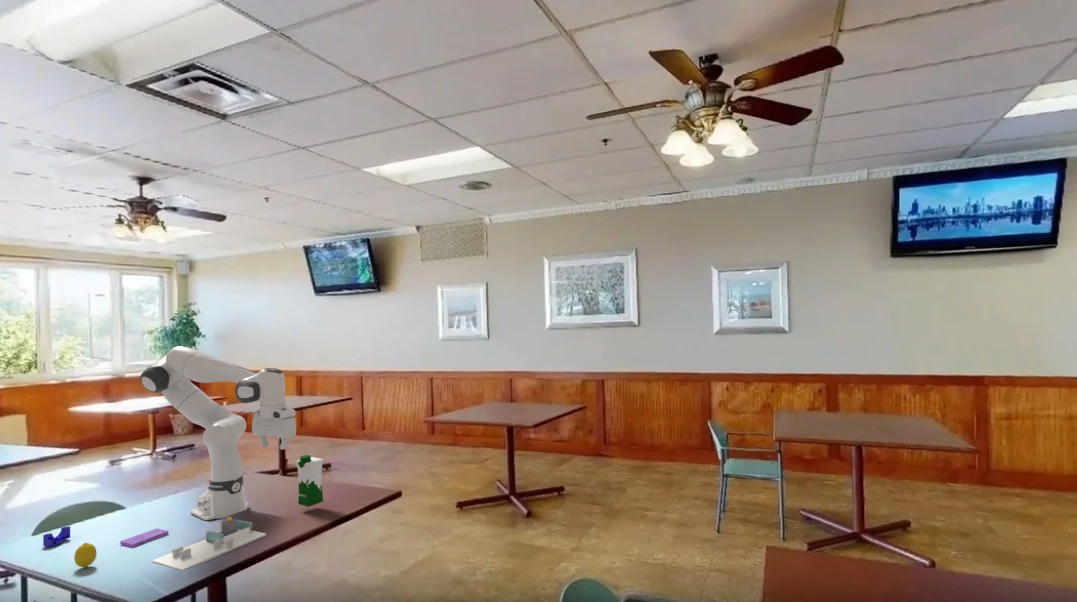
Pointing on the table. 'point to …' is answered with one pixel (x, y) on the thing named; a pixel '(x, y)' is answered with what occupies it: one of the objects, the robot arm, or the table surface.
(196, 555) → the board
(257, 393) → the robot arm
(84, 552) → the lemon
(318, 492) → the milk carton
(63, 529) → the cable holder
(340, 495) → the table surface
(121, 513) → the table surface
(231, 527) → the block
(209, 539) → the end holder
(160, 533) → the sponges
